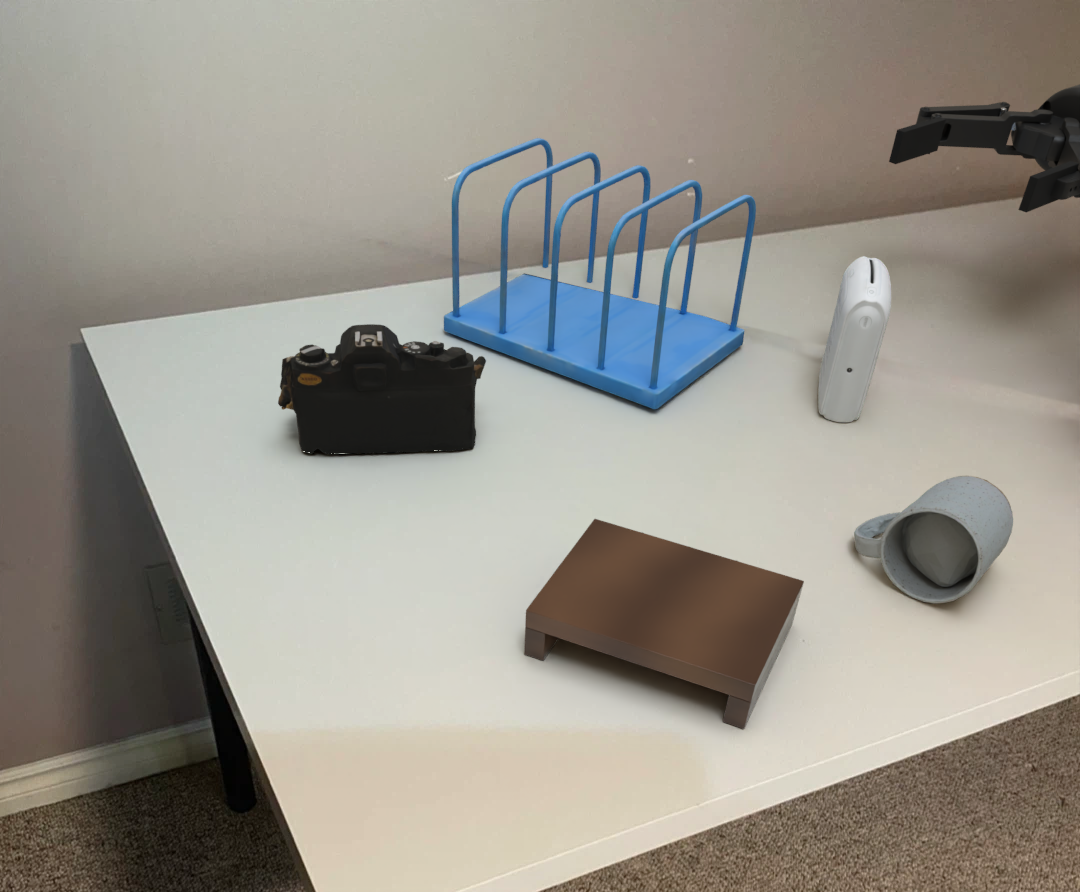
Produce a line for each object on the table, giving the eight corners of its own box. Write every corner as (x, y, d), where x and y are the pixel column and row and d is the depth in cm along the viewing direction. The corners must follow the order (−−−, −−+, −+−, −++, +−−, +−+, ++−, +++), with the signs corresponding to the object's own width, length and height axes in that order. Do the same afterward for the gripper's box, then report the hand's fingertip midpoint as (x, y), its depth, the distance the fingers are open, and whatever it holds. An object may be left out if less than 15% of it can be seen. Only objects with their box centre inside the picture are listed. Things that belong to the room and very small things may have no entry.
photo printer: (861, 427, 98) (899, 294, 90) (814, 420, 99) (848, 288, 90) (861, 374, 106) (896, 247, 97) (817, 368, 106) (848, 241, 97)
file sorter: (743, 347, 109) (773, 187, 98) (655, 415, 98) (677, 245, 87) (541, 278, 118) (548, 126, 107) (442, 334, 108) (438, 171, 97)
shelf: (792, 624, 78) (804, 580, 75) (743, 729, 70) (755, 685, 67) (590, 561, 82) (594, 518, 80) (523, 654, 75) (525, 609, 72)
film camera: (447, 379, 101) (445, 274, 94) (500, 444, 94) (502, 335, 87) (261, 414, 96) (244, 305, 88) (302, 486, 88) (286, 373, 81)
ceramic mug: (1001, 568, 84) (1035, 483, 78) (961, 620, 79) (996, 533, 74) (875, 519, 88) (900, 435, 83) (831, 565, 83) (854, 480, 78)
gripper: (1191, 207, 100) (1071, 262, 90) (964, 131, 113) (837, 172, 103) (1231, 119, 95) (1108, 167, 85) (988, 50, 107) (856, 84, 97)
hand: (959, 170), depth 94 cm, fingers open, 13 cm apart
